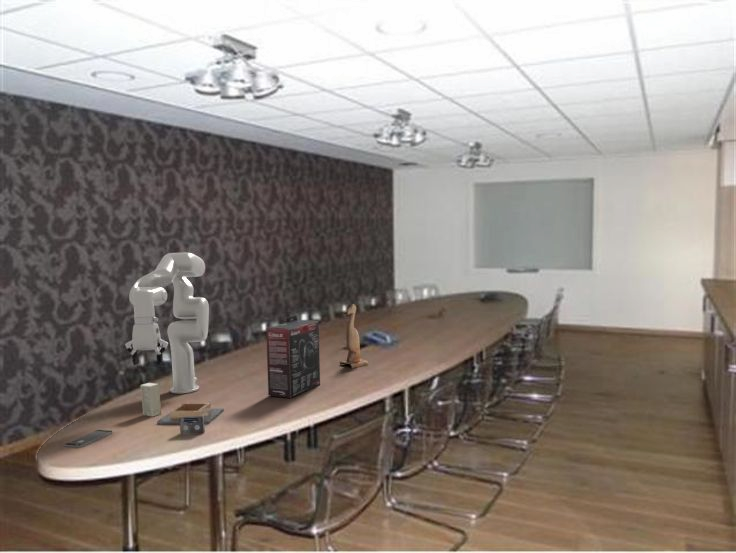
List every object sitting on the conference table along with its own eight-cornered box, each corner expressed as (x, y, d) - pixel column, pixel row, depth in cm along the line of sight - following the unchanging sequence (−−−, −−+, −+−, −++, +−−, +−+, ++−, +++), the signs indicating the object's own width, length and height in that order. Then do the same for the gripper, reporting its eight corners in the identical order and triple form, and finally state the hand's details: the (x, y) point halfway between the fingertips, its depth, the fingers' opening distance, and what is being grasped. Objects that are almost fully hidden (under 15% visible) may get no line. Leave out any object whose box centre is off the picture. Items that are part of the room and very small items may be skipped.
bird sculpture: (338, 366, 315) (334, 305, 312) (355, 361, 323) (351, 301, 320) (352, 369, 307) (348, 306, 304) (369, 364, 315) (366, 303, 311)
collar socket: (175, 411, 244) (174, 401, 244) (223, 411, 241) (223, 401, 241) (157, 424, 228) (156, 413, 228) (208, 423, 226) (208, 413, 225)
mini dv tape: (204, 432, 217) (203, 415, 216) (203, 433, 215) (202, 417, 215) (181, 432, 217) (180, 416, 216) (180, 434, 215) (179, 417, 215)
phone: (97, 432, 223) (62, 447, 208) (97, 429, 223) (62, 444, 208) (114, 433, 220) (80, 449, 205) (114, 430, 220) (80, 446, 205)
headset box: (298, 382, 282) (295, 312, 280) (322, 384, 277) (319, 312, 274) (267, 396, 260) (263, 320, 258) (292, 399, 255) (288, 321, 252)
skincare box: (161, 414, 241) (159, 383, 240) (152, 417, 237) (150, 386, 236) (151, 412, 244) (149, 382, 244) (142, 415, 241) (139, 384, 240)
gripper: (170, 318, 240) (173, 361, 242) (128, 319, 243) (131, 362, 244) (161, 321, 233) (164, 366, 234) (119, 322, 235) (122, 366, 236)
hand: (148, 364), depth 239 cm, fingers open, 9 cm apart
